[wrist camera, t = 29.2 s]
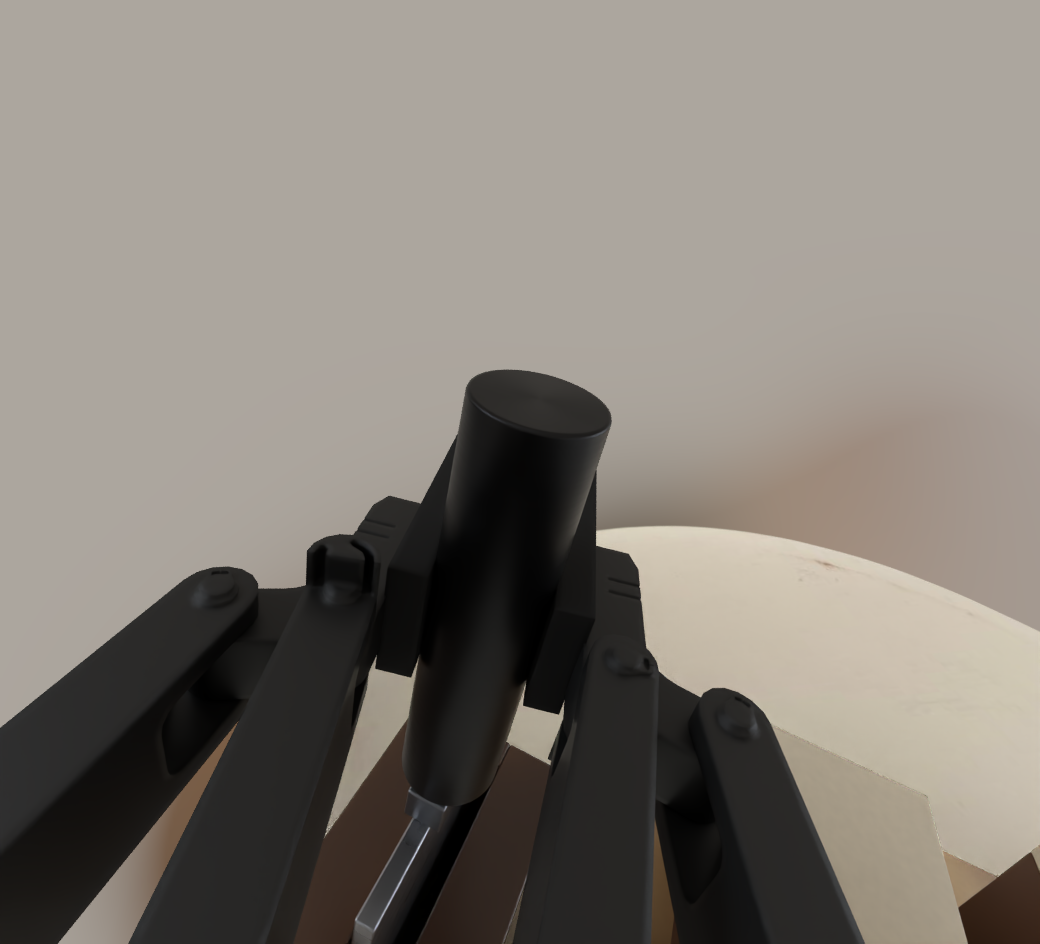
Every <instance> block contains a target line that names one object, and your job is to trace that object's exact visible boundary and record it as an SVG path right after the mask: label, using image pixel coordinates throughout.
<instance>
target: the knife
mask: <svg viewBox="0 0 1040 944" xmlns="http://www.w3.org/2000/svg"><path fill="white" fill-rule="evenodd" d="M611 422H612V420H611V414H610V412H609V409H608V408H607V407H606V405H605V404H604V403H603V402H602V401H601V400H600V399H598V398H597V397H596V396H594V395H593V394H591V393H590V392H588V391H587V390H585V389H583V388H581V387H579V386H577V385H574V384H572V383H570V382H567V381H565V380H562V379H559V378H556V377H553V376H549V375H545V374H541V373H535V372H530V371H522V370H495V371H488V372H484V373H481V374H479V375H477V376H475V377H474V378H472V379H471V380H470V382H469V383H468V385H467V387H466V392H465V397H464V402H463V408H462V414H461V420H460V425H459V431H458V437H457V442H456V448H455V454H454V460H453V465H452V471H451V477H450V482H449V488H448V494H447V500H446V505H445V511H444V517H443V522H442V528H441V534H440V540H439V545H438V551H437V558H436V564H435V570H434V575H433V581H432V587H431V593H430V598H429V604H428V610H427V616H426V621H425V627H424V633H423V638H422V644H421V650H420V655H419V660H418V665H417V671H416V677H415V682H414V688H413V694H412V700H411V705H410V711H409V717H408V722H407V728H406V734H405V740H404V745H403V751H402V766H403V771H404V774H405V777H406V779H407V781H408V782H409V784H410V785H411V787H410V788H409V790H408V795H407V800H406V805H405V811H404V812H405V813H406V814H407V815H409V816H411V817H413V818H412V820H411V822H410V823H409V825H408V827H407V829H406V830H405V832H404V834H403V836H402V837H401V839H400V841H399V843H398V844H397V846H396V848H395V850H394V851H393V853H392V855H391V857H390V858H389V860H388V862H387V864H386V865H385V867H384V869H383V871H382V873H381V874H380V876H379V878H378V880H377V881H376V883H375V885H374V887H373V888H372V890H371V892H370V894H369V895H368V897H367V899H366V901H365V902H364V904H363V906H362V908H361V909H360V911H359V913H358V915H357V916H356V918H355V922H354V930H353V937H352V944H415V942H416V940H417V938H418V936H419V934H420V932H421V930H422V928H423V925H424V923H425V921H426V919H427V917H428V915H429V913H430V911H431V908H432V906H433V904H434V902H435V900H436V898H437V896H438V894H439V891H440V889H441V887H442V885H443V883H444V881H445V879H446V877H447V874H448V872H449V870H450V867H451V863H452V860H453V857H454V853H455V850H456V847H457V843H458V840H459V837H460V834H461V830H462V827H463V824H464V820H465V817H466V814H467V811H468V807H469V804H470V802H471V801H473V800H475V799H477V798H478V797H479V796H481V795H482V794H483V793H484V792H485V791H486V790H487V789H488V788H489V786H490V785H491V783H492V781H493V779H494V777H495V774H496V771H497V768H498V765H499V762H500V759H501V756H502V753H503V750H504V747H505V744H506V741H507V738H508V735H509V732H510V729H511V726H512V723H513V720H514V717H515V714H516V711H517V708H518V705H519V702H520V699H521V696H522V693H523V690H524V687H525V684H526V680H527V677H528V674H529V671H530V668H531V665H532V662H533V659H534V656H535V653H536V650H537V646H538V643H539V640H540V637H541V634H542V631H543V628H544V625H545V622H546V619H547V616H548V613H549V610H550V607H551V604H552V601H553V598H554V595H555V592H556V589H557V586H558V584H559V581H560V578H561V575H562V572H563V569H564V566H565V563H566V560H567V557H568V554H569V551H570V548H571V545H572V541H573V538H574V535H575V532H576V529H577V526H578V523H579V520H580V517H581V514H582V511H583V508H584V505H585V502H586V499H587V496H588V493H589V490H590V487H591V484H592V481H593V478H594V475H595V472H596V469H597V466H598V463H599V460H600V457H601V454H602V451H603V448H604V445H605V442H606V438H607V436H608V433H609V430H610V427H611Z"/></svg>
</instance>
